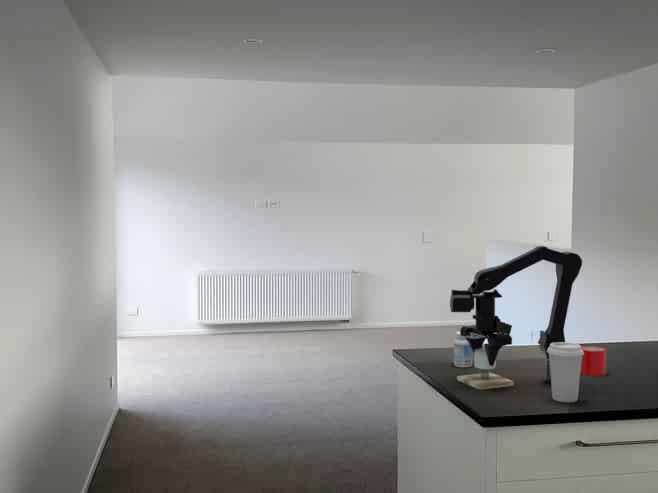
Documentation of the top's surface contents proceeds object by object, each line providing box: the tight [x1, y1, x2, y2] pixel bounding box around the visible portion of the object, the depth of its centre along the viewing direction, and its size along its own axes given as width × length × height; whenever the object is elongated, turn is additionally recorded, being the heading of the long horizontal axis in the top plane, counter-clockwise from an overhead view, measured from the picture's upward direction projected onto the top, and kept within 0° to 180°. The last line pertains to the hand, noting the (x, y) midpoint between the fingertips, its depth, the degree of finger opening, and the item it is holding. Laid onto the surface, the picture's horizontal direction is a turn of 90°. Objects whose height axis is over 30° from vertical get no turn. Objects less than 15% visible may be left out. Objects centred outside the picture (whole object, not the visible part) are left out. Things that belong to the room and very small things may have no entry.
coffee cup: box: [547, 341, 584, 403], centre depth 178 cm, size 10×10×15 cm
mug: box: [580, 345, 607, 377], centre depth 208 cm, size 8×12×8 cm, turn 49°
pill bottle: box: [453, 331, 473, 368], centre depth 217 cm, size 6×6×11 cm
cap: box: [473, 347, 497, 370], centre depth 196 cm, size 6×6×5 cm
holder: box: [456, 370, 515, 391], centre depth 196 cm, size 12×12×3 cm
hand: (485, 363), depth 196 cm, fingers closed on cap, 6 cm apart
